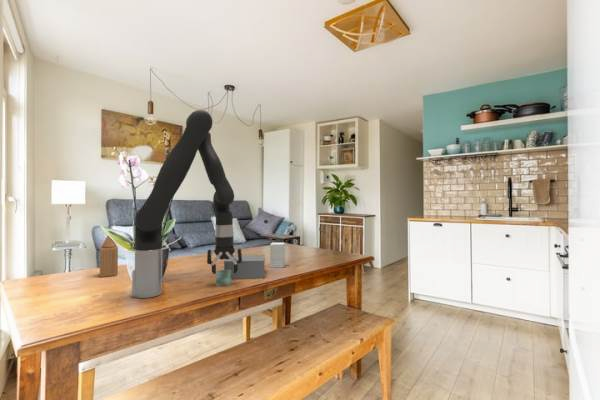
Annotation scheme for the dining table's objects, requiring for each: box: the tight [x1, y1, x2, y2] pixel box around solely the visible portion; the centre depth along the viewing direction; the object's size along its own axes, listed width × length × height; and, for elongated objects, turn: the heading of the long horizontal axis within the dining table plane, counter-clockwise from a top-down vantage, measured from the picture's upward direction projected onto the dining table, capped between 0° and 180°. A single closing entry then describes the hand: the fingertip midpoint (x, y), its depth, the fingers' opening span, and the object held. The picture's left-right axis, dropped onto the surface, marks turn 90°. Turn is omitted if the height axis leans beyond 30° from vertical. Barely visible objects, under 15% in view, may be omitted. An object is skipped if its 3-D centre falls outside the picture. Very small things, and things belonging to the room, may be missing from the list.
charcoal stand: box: [223, 253, 266, 280], centre depth 143 cm, size 18×16×8 cm
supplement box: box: [269, 242, 286, 269], centre depth 161 cm, size 7×7×13 cm
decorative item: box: [99, 235, 119, 278], centre depth 140 cm, size 7×7×20 cm
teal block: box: [215, 269, 232, 287], centre depth 127 cm, size 6×6×6 cm
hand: (225, 273), depth 127 cm, fingers open, 8 cm apart
